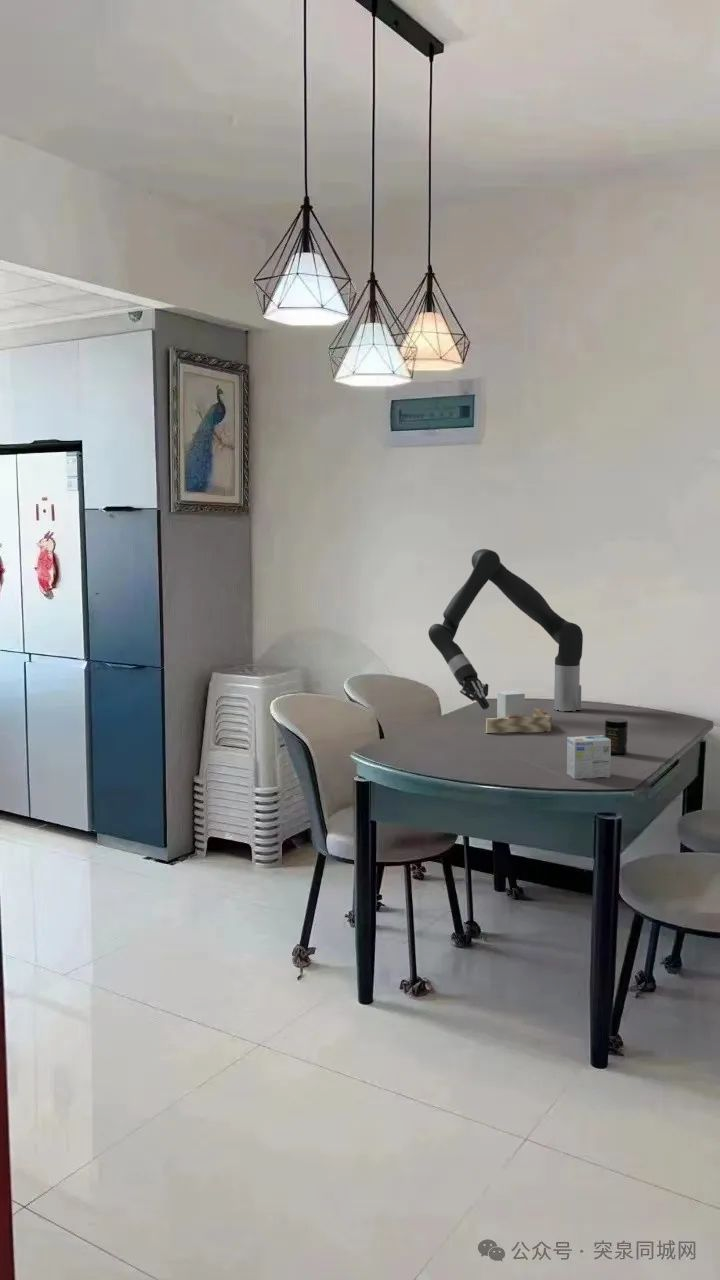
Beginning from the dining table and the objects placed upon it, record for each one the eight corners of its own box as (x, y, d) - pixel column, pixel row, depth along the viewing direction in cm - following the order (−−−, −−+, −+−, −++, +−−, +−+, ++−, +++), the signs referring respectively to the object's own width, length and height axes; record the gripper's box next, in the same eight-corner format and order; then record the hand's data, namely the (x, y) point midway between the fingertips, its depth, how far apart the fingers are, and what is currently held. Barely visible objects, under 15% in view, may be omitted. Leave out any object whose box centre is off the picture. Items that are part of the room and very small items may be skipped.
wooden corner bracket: (536, 721, 347) (536, 706, 347) (551, 731, 331) (552, 715, 330) (474, 724, 344) (474, 708, 344) (486, 733, 328) (487, 717, 327)
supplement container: (627, 756, 294) (627, 722, 293) (603, 755, 296) (604, 721, 295) (627, 751, 301) (628, 718, 300) (604, 750, 303) (605, 717, 301)
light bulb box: (601, 771, 276) (602, 734, 275) (611, 777, 270) (612, 739, 269) (565, 773, 275) (566, 736, 274) (574, 779, 268) (575, 741, 267)
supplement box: (525, 730, 334) (525, 693, 332) (504, 731, 332) (505, 694, 330) (516, 726, 341) (516, 690, 339) (496, 727, 339) (496, 691, 337)
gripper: (454, 664, 346) (478, 703, 338) (480, 661, 354) (505, 699, 346) (444, 677, 351) (467, 716, 343) (470, 674, 359) (494, 712, 351)
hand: (486, 708), depth 345 cm, fingers closed
